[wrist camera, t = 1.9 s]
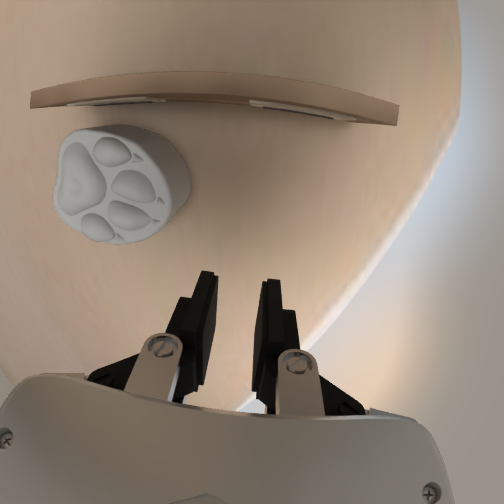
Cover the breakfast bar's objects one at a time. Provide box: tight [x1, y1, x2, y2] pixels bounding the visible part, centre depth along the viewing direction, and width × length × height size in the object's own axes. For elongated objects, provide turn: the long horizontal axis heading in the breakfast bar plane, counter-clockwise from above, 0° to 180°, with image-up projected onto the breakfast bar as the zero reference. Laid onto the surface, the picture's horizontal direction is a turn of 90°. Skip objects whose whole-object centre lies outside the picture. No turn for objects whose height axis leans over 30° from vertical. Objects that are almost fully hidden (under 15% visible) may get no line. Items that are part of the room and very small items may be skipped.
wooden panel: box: [30, 71, 399, 126], centre depth 21 cm, size 2×28×11 cm, turn 84°
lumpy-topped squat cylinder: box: [53, 125, 191, 245], centre depth 25 cm, size 10×13×9 cm
